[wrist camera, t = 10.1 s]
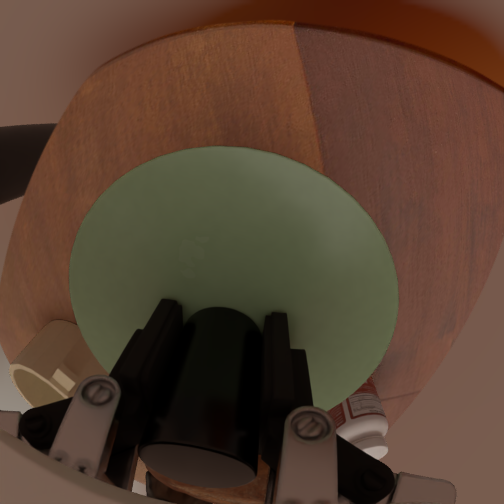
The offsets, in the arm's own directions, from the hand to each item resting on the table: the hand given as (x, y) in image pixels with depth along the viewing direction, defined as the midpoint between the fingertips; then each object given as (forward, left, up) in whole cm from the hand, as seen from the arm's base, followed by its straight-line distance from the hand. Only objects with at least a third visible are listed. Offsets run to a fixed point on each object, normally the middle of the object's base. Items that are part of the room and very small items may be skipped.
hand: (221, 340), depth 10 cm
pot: (+7, -29, -15) cm, 33 cm away
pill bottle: (+23, +3, -15) cm, 28 cm away
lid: (0, 0, -1) cm, 1 cm away
